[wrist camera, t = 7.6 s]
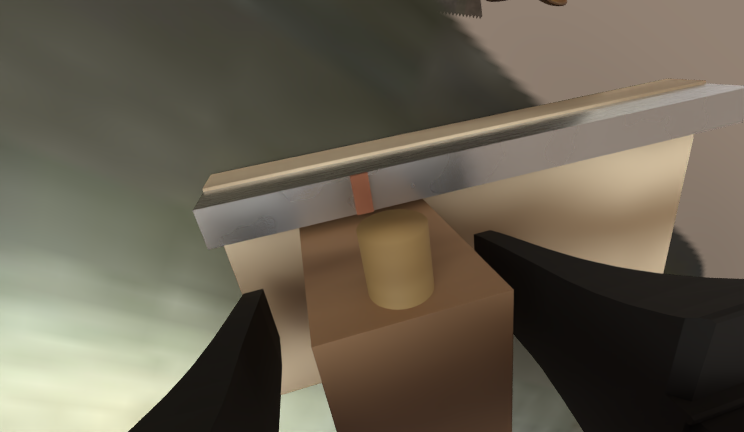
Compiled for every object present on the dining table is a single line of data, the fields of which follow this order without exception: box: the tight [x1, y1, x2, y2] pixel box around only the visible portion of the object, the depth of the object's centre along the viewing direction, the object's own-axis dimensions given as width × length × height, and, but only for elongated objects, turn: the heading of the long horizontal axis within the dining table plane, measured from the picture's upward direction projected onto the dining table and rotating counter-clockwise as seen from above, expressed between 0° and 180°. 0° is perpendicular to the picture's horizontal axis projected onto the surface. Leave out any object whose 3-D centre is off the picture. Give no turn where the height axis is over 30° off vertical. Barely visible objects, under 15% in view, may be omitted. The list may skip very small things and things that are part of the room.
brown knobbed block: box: [299, 199, 514, 432], centre depth 11 cm, size 8×4×6 cm, turn 9°
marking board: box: [193, 79, 744, 395], centre depth 14 cm, size 9×18×3 cm, turn 99°
